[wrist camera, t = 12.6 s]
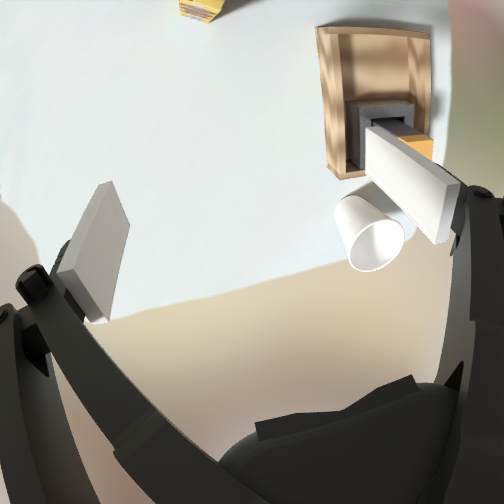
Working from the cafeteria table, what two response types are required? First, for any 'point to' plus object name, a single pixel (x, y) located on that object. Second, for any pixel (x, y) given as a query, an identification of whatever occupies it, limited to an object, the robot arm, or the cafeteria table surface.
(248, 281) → the cafeteria table surface
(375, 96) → the tray
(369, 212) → the cup
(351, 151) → the frame
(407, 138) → the connector
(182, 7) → the candy box
